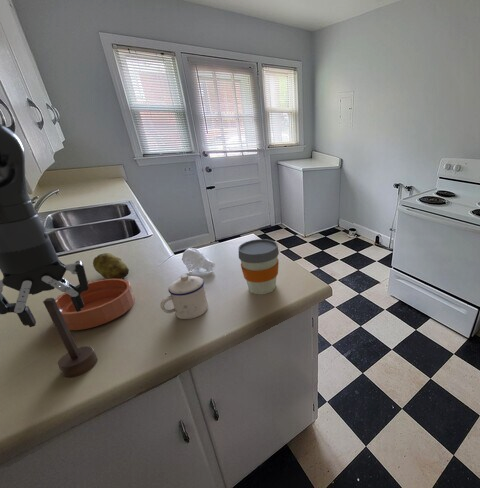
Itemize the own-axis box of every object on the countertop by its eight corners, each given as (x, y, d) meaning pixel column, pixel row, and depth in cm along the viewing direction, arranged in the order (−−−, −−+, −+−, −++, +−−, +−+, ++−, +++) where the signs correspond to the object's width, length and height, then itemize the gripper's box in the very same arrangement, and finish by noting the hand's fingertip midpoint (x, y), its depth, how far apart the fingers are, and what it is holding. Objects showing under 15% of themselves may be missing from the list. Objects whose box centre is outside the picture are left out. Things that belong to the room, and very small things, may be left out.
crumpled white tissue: (191, 244, 102) (218, 250, 100) (193, 263, 106) (220, 270, 103) (178, 250, 97) (206, 257, 94) (181, 271, 100) (209, 278, 98)
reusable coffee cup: (261, 274, 99) (257, 236, 93) (288, 283, 93) (286, 243, 87) (235, 290, 89) (228, 249, 83) (264, 301, 83) (259, 258, 77)
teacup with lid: (200, 297, 85) (192, 265, 81) (214, 309, 80) (208, 275, 75) (159, 316, 77) (148, 281, 72) (172, 330, 71) (162, 293, 67)
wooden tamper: (56, 380, 57) (18, 311, 50) (71, 359, 63) (39, 293, 56) (90, 373, 59) (57, 305, 52) (102, 353, 64) (74, 289, 57)
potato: (104, 287, 91) (96, 266, 88) (95, 274, 99) (88, 254, 96) (132, 277, 97) (126, 257, 94) (122, 266, 105) (116, 247, 101)
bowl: (40, 331, 71) (30, 312, 69) (96, 293, 87) (90, 277, 85) (103, 333, 70) (96, 315, 68) (148, 295, 86) (143, 279, 84)
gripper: (72, 228, 56) (99, 296, 62) (-37, 246, 47) (8, 323, 54) (73, 238, 51) (102, 311, 57) (-49, 261, 42) (2, 344, 48)
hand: (56, 316), depth 55 cm, fingers open, 6 cm apart
